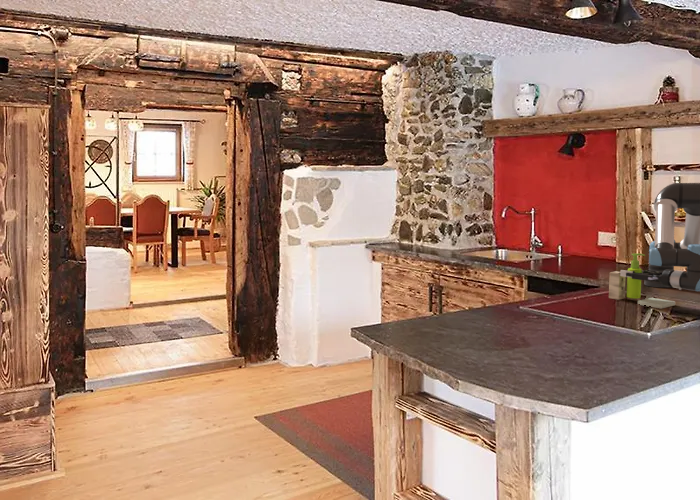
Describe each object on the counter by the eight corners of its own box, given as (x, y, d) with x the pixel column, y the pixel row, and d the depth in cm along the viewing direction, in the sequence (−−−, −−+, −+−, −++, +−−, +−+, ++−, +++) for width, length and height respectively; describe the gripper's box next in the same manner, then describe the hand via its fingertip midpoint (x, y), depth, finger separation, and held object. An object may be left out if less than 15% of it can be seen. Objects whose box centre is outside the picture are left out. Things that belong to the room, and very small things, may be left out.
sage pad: (651, 301, 301) (651, 297, 301) (675, 305, 292) (675, 301, 292) (637, 304, 295) (637, 300, 294) (661, 308, 286) (661, 304, 285)
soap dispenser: (644, 298, 298) (646, 254, 296) (627, 298, 299) (630, 254, 297) (641, 296, 304) (643, 253, 302) (625, 295, 305) (627, 252, 303)
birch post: (615, 296, 313) (615, 270, 311) (625, 298, 308) (626, 272, 307) (608, 297, 310) (609, 271, 308) (618, 299, 305) (619, 273, 304)
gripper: (661, 290, 281) (612, 282, 300) (685, 284, 291) (636, 277, 310) (662, 272, 280) (613, 266, 299) (686, 267, 290) (637, 261, 309)
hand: (625, 272), depth 304 cm, fingers closed on soap dispenser, 6 cm apart
